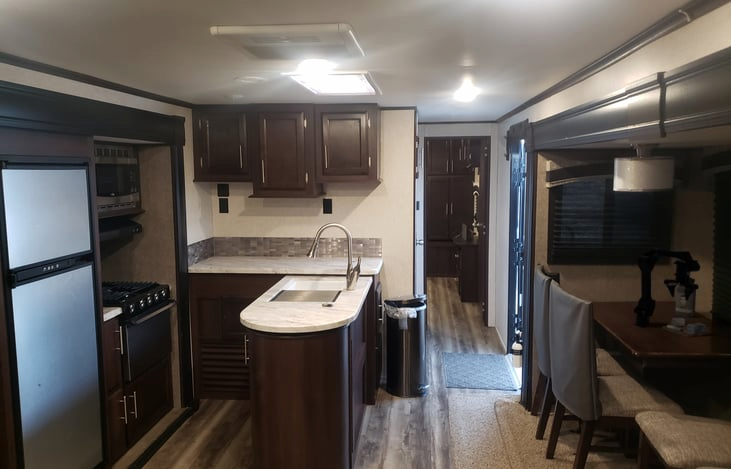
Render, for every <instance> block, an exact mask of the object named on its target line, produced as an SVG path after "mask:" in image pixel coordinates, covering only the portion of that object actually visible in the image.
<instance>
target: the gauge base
mask: <svg viewBox="0 0 731 469" xmlns="http://www.w3.org/2000/svg"><path fill="white" fill-rule="evenodd" d="M706 327H707V326H706V324H703V323H701V322H695V323H694V322H693V323H688V324H685V325H684V326H679V327H675V326H672V325H668V324H667V325H664V326H662V330H665V331H668V332H671V333H674V334H677V335H679V336H683V337H687V338H690V337H698V336H707V335H709V331H707V330H706V329H707V328H706Z"/></svg>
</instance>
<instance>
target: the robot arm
mask: <svg viewBox="0 0 731 469" xmlns="http://www.w3.org/2000/svg"><path fill="white" fill-rule="evenodd" d="M660 257H669V258H672V259H675V261H673V263H672V264H673V265H675V273H673V276H675V279H673V278H665V279H663V284H664V285H665V286H666V287H667V289H668V292H669V294H670V295H671V298H674V297H675V294H676V288H677V287H678V286H684V287H685V288H686V289H684V291H685V300H686V301H687V300H688V299H689V297H690V295H691V293H692V292H693V291H694V290H696V291H697V290H699V287H700V286H699V284H697V283H695V282H696V279H695V278H692V277H691V276H690V277H689V274H687V272H690V273H693V272H694V273H696V272H699V271H701V265H700V263H699V260H697V259H693V257H692V255H691V253H690V251H689V250H682V249H675V250H668V249H662V248H658V247H654V248H651V249H650V250H649V251H647V252H645V253H643V254H642V255H640V256H639V257H638V258H637V265H638V266H637V267H638V268H639V270H640V273H641V274H640V276H641V277H640V280H641V283H640V286H641V290H640V291H641V294H640V298H639V299H638V303H637V305H636V307H635V308H634V309H633V313H634V314H636V315H635V316H636V317H635V318H636V319H635V323H633V325H635V326H637V327H641V328H646V327H647V328H648V327H652V325H651V324H650V319H651V317H652V316H653V314H654V311H655V309H656V308H657V307H656V300H655V299H653V297H652V272H653V270H654V269H655V264H657V262H658V261H659V259H660ZM686 283H687V284H686ZM682 284H683V285H682Z"/></svg>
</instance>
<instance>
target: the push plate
mask: <svg viewBox="0 0 731 469" xmlns="http://www.w3.org/2000/svg"><path fill="white" fill-rule="evenodd" d="M685 320H686V319H685V318H683V317H672V318H671V322H670V323H669V322H668V324H667V325H672V326H675V327H679V326H684V325H686V324H685V323H686V322H685Z"/></svg>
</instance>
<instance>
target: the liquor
mask: <svg viewBox="0 0 731 469" xmlns="http://www.w3.org/2000/svg"><path fill="white" fill-rule="evenodd" d="M687 274H689V277H690V278H691V272H687ZM686 284H687V283H686ZM682 285H683V284H682ZM684 289H686V288H685V287H684V286H680V285H677V286H676V290H675V294H676V295H675V312H674V313H675V315H676V316H678V317H681V318H683V317H684V318H693V317H694V316H696V299H697V289H696V290H694V291H693V292H692V293H691V295H690V297H689V299H688V300H687V301H686V300H685V291H684Z"/></svg>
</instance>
